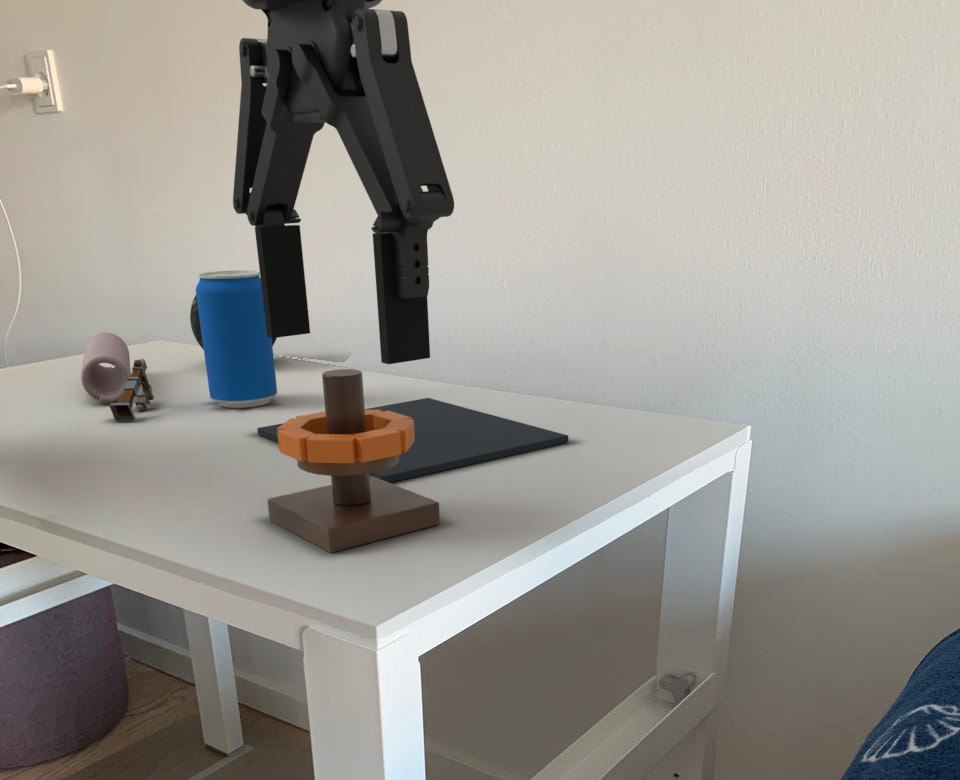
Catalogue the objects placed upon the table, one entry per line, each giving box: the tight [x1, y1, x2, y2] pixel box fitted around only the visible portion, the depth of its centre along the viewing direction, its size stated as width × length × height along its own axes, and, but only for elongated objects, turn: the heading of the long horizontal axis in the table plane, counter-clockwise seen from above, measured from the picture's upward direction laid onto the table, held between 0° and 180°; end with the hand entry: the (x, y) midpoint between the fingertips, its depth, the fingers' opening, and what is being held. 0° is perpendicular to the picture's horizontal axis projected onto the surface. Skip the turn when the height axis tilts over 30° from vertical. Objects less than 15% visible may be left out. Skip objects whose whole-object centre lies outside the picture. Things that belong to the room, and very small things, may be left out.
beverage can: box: [195, 269, 278, 409], centre depth 96 cm, size 6×6×12 cm
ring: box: [277, 410, 415, 463], centre depth 62 cm, size 8×8×1 cm
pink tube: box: [80, 331, 132, 405], centre depth 106 cm, size 5×5×18 cm
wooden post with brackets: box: [108, 358, 155, 422], centre depth 95 cm, size 2×8×4 cm, turn 178°
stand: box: [267, 368, 441, 554], centre depth 62 cm, size 8×8×10 cm
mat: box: [256, 397, 569, 484], centre depth 84 cm, size 20×18×1 cm
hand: (342, 347), depth 60 cm, fingers open, 13 cm apart
